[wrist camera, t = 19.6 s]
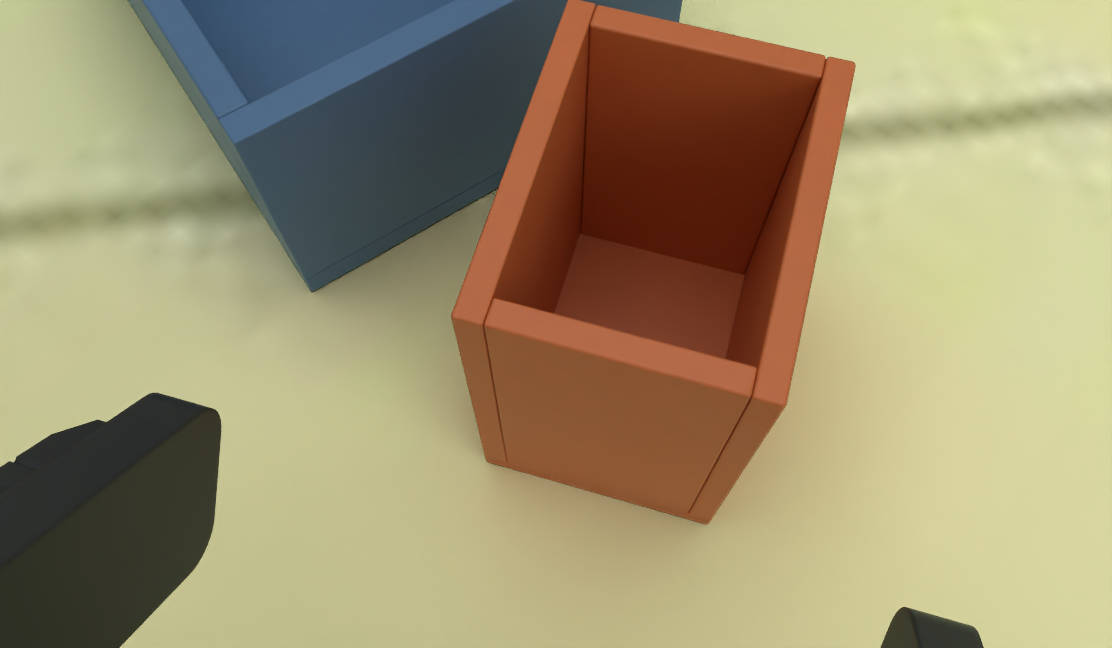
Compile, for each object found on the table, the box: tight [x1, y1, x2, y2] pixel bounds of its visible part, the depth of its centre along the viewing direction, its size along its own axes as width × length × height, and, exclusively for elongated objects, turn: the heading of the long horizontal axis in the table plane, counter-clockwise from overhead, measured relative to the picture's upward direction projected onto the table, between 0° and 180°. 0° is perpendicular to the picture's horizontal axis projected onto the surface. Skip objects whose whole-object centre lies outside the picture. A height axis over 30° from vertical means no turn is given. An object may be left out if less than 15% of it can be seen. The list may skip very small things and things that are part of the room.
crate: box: [451, 0, 856, 524], centre depth 22 cm, size 8×6×9 cm
